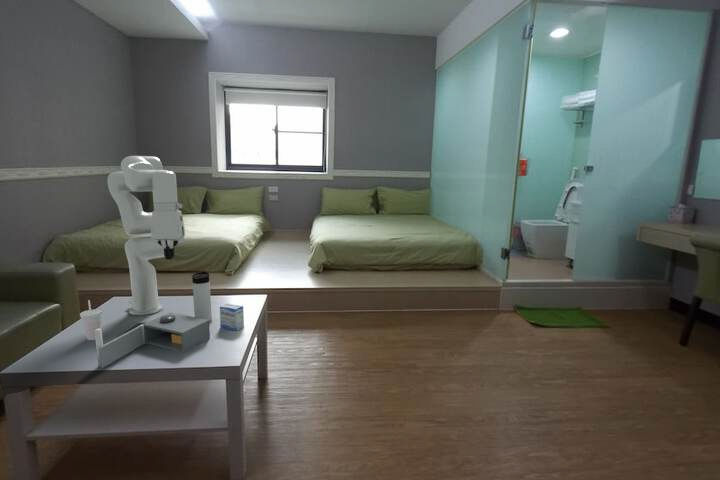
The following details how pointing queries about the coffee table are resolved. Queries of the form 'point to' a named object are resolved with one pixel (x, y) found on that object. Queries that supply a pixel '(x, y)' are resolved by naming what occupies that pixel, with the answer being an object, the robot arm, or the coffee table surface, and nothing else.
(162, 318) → the cabinet body
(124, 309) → the coffee table surface
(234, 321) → the medicine box
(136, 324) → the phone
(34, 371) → the coffee table surface
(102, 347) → the side door
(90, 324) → the smoothie
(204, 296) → the travel mug
